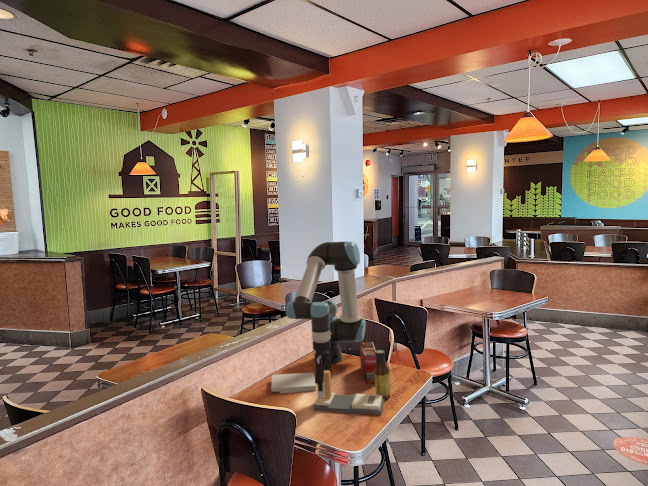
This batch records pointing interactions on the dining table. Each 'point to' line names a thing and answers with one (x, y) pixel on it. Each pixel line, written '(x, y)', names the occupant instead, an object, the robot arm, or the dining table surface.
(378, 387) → the sauce bottle
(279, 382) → the grey flat slab
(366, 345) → the ice cream box
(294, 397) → the dining table surface
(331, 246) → the robot arm
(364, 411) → the mat
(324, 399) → the tan block with base
